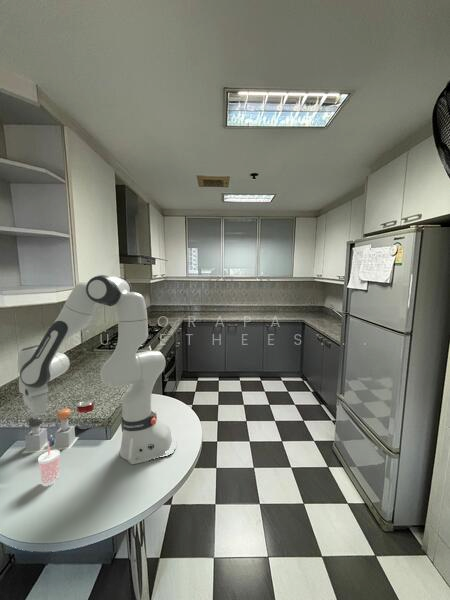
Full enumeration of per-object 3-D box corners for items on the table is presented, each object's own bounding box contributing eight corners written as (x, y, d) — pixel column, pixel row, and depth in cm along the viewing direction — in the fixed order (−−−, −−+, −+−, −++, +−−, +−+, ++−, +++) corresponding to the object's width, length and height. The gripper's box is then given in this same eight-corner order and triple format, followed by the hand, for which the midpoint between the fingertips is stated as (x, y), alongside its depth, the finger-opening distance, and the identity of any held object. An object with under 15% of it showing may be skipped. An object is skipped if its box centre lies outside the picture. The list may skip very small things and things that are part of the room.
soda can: (87, 433, 112) (86, 407, 112) (73, 431, 114) (72, 406, 113) (98, 424, 119) (97, 400, 119) (85, 423, 121) (84, 399, 120)
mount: (79, 439, 108) (78, 423, 107) (69, 451, 100) (69, 434, 99) (34, 443, 105) (33, 427, 105) (21, 455, 97) (20, 438, 97)
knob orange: (73, 429, 105) (72, 408, 105) (68, 435, 101) (67, 413, 101) (62, 430, 105) (60, 408, 104) (56, 436, 100) (54, 414, 100)
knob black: (46, 436, 104) (44, 414, 104) (39, 443, 100) (38, 420, 99) (34, 437, 104) (32, 415, 103) (26, 444, 99) (25, 421, 99)
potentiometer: (56, 442, 104) (55, 433, 104) (52, 446, 101) (52, 436, 101) (50, 443, 103) (49, 434, 103) (46, 446, 101) (46, 437, 101)
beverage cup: (44, 476, 86) (42, 437, 86) (64, 472, 88) (62, 434, 87) (35, 489, 80) (33, 448, 80) (56, 485, 82) (54, 445, 81)
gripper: (17, 381, 105) (19, 413, 105) (29, 394, 92) (31, 430, 92) (35, 377, 110) (37, 407, 110) (49, 388, 96) (51, 423, 97)
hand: (35, 418), depth 101 cm, fingers closed
